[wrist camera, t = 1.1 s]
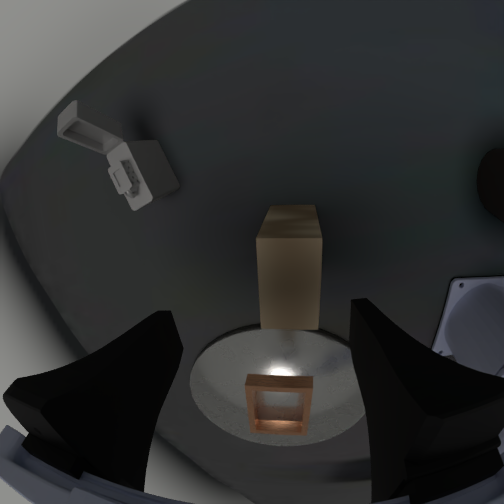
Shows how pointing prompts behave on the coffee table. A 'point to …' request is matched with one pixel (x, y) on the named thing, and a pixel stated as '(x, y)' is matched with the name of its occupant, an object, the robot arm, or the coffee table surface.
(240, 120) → the coffee table surface
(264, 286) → the wood grain block
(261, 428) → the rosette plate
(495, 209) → the coffee cup
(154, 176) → the lighter
